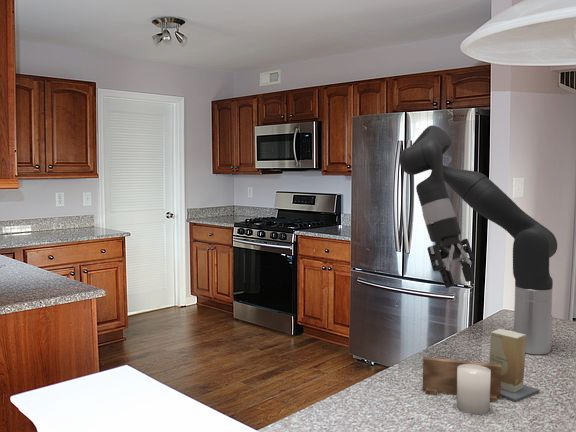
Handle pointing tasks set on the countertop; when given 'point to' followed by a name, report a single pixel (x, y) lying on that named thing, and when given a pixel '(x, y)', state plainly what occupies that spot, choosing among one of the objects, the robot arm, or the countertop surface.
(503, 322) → the countertop surface
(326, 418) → the countertop surface
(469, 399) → the white pillar candle
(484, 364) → the walnut screen
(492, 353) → the skincare box
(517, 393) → the slate mat
